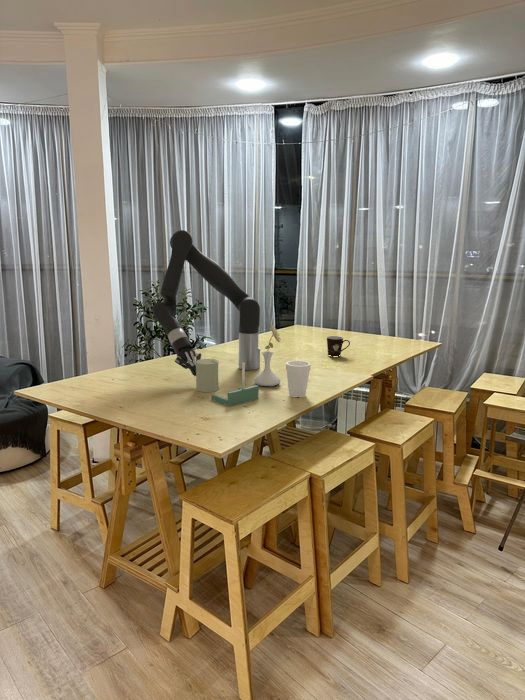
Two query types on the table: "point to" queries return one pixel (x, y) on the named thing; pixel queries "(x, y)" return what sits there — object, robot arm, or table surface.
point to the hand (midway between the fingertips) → (197, 375)
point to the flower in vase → (268, 365)
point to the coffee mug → (335, 345)
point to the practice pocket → (238, 393)
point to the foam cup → (297, 377)
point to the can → (207, 375)
